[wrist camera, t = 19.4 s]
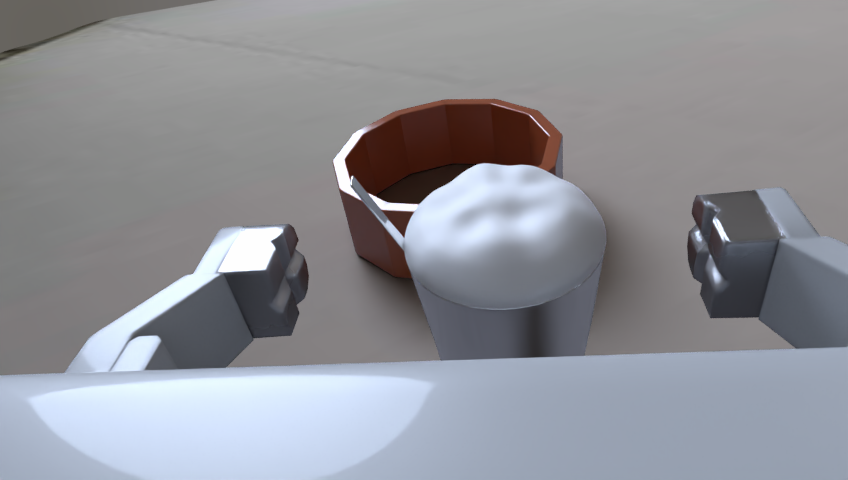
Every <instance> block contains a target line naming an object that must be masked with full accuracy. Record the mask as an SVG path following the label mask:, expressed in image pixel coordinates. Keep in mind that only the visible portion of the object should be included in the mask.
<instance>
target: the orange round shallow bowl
mask: <svg viewBox="0 0 848 480" xmlns="http://www.w3.org/2000/svg"><path fill="white" fill-rule="evenodd" d="M452 163H460V164H483V163H490V164H498V165H507V166H512V165H531V166H535V167H538V168H541V169H543V170H545V171H547V172H549V173H551V174H553V175H555V176H556V177H558V178H560V179H563V136H562V134H561V133H560V132H559V131H558V130H557V129H556V128H555V127H554V126H553V125H552V124H551V123H550V122H549V121H548V120H547V119H546V118H545V117H544V116H543V115H542V114H541V113H540V112H539V111H538V110H534V109H530V108H527V107H523V106H519V105H516V104H512V103H509V102H505V101H501V100H498V99H446V100H440V101H436V102H432V103H428V104H423V105H419V106H415V107H411V108H406V109H402V110H398V111H395V112H393V113H391V114H389V115H387V116H385V117H383V118H381V119H379V120H377V121H376V122H374V123H372V124H370V125H368V126H366V127H364V128H362V129H360V130H359V131H357V132H355V133H354V134H353V135H352V136H351V138H350V139H349V140H348V141H347V143H346V144H345V145H344V147H343V148H342V149H341V151H340V152H339V153H338V154H337V156H336V157H335V158H334V160H333V166H334V170H335V175H336V179H337V183H338V187H339V191H340V195H341V199H342V202H343V206H344V210H345V213H346V217H347V221H348V225H349V228H350V232H351V236H352V239H353V243H354V247H355V251H356V253H357V254H358V255H360V256H361V257H363V258H365V259H366V260H368V261H370V262H371V263H373V264H374V265H376V266H378V267H379V268H381V269H383V270H384V271H386V272H387V273H389V274H391V275H392V276H394V277H400V278H411V279H412V276H411V273H410V270H409V267H408V264H407V262H406V258H405V253H404V251H403V250H402V248H401V247H400V246H399V245H398V244H397V242H396V241H395V240H394V239H393V238H392V236H391V235H390V234H389V233H388V232H387V230H386V229H385V228H384V227H383V225H382V224H381V223H380V222H379V221H378V219H377V218H376V217H375V216H374V215H373V213H372V212H371V211H370V210H369V209H368V207H367V206H366V205H365V204H364V202H363V201H362V200H361V199H360V198H359V196H358V195H357V194H356V193H355V192H354V190H353V189H352V188H351V186H350V181H351V176H352V175H353V176H354V177H355V178H356V179H357V181H358V182H359V183H360V184H361V186H362V187H363V188H364V189H365V190H366V192H367V193H368V194H369V195H370V197H371V198H372V199H373V200H374V202H375V203H376V204H377V205H378V206H379V208H380V209H381V210H382V211H383V213H384V214H385V215H386V216H387V218H388V219H389V220H390V221H391V222H392V224H393V225H394V226H395V227H396V229H397V230H398V231H399V232H400V234H401V235H402V236H403V237H405V232H406V228H407V226H408V223H409V221H410V218H411V217H412V215H413V213H414V212H415V210H416V209H417V207H418V206H419V204H407V203H388V202H386V201H384V200H382V199H380V198H378V197H376V195H377V194H378V193H380V192H381V191H383V190H385V189H386V188H388V187H389V186H391V185H393V184H394V183H396V182H398V181H399V180H401V179H403V178H404V177H406V176H408V175H409V174H412V173H416V172H420V171H424V170H428V169H432V168H436V167H440V166H444V165H448V164H452Z"/></svg>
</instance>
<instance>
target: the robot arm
mask: <svg viewBox="0 0 848 480" xmlns="http://www.w3.org/2000/svg"><path fill="white" fill-rule="evenodd" d="M692 215H693V217H694V220H695V222H696V225H695V226H694V227H693V228H692V229H691V230H690V231H689V235H688V244H687V250H688V262H689V266H690V270H691V272H692V275H693V278H694V279H696V280H697V281H699V282H701V283H702V286H701V292H700V295H701V297H702V299H703V302H704V304H705V306H706V309H707V311H708V314H709V316H710V318H748V317H759V320H760V321H761V322H763V323H764V324H765V325H767V326H768V327H769V328H770V329H772V330H773V331H774V332H776V333H777V334H778V335H779V336H781V337H782V338H783V339H785V340H786V341H787V342H788V343H790V344H791V345H792V346H794V347H795V348H796V349H773V350H742V351H713V352H683V353H653V354H624V355H594V356H564V357H535V358H505V359H475V360H444V361H414V362H384V363H354V364H324V365H294V366H264V367H234V368H226V367H227V366H228V365H229V364H230V363H231V362H232V361H233V360H234V359H235V358H236V357H237V356H238V355H239V354H240V353H241V352H242V351H243V350H244V349H245V348H246V347H247V346H248V345H249V344H250V343H251V342H252V341H253V338H263V337H278V336H291V335H292V333H293V330H294V327H295V324H296V321H297V319H298V316H299V310H298V307H297V304H298V303H299V302H301V301H302V300H303V299H304V298H305V296H306V293H307V290H308V278H309V275H308V269H307V264H306V261H305V258H304V256H303V255H302V254H301V253H299V252H298V251H297V250H296V249H295V247H296V245H297V242H298V237H297V235H296V232H295V229H294V227H292V226H291V225H290V224H279V225H259V226H246V227H244V226H240V227H227V228H223V229H221V230H219V232H218V234H217V235H216V237H215V239H214V240H213V242H212V244H211V245H210V247H209V249H208V250H207V252H206V253H205V255H204V257H203V258H202V260H201V262H200V263H199V265H198V267H197V268H196V270H195V272H194V273H193V275H185V276H184V277H182V278H181V279H179V280H178V281H176V282H175V283H173V284H171V285H170V286H168V287H167V288H165V289H164V290H162V291H161V292H159V293H157V294H156V295H154V296H153V297H151V298H150V299H148V300H147V301H145V302H143V303H142V304H140V305H139V306H137V307H136V308H134V309H133V310H131V311H129V312H128V313H126V314H125V315H123V316H122V317H120V318H119V319H117V320H116V321H114V322H112V323H111V324H109V325H108V326H106V327H105V328H103V329H102V330H100V331H98V332H97V333H95V334H94V335H92V336H91V337H90V338H89V339H88V340H87V342H86V343H85V345H84V346H83V347H82V349H81V350H80V352H79V353H78V354H77V356H76V357H75V359H74V360H73V361H72V363H71V364H70V366H69V367H68V368H67V370H66V371H65V373H55V374H25V375H0V480H848V245H847V244H845V243H843V242H841V241H838V240H836V239H834V238H832V237H821V236H820V235H819V234H818V232H817V231H816V230H815V228H814V227H813V226H812V224H811V223H810V222H809V220H808V219H807V218H806V216H805V215H804V214H803V212H802V211H801V210H800V208H799V207H798V205H797V204H796V203H795V201H794V200H793V199H792V197H791V196H790V195H789V193H788V192H787V191H786V189H783V188H781V187H777V188H768V189H758V190H752V191H742V192H730V193H719V194H707V195H696V197H695V200H694V202H693V208H692Z"/></svg>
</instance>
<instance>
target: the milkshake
mask: <svg viewBox="0 0 848 480" xmlns="http://www.w3.org/2000/svg"><path fill="white" fill-rule="evenodd" d="M350 186H351V188H352V189H353V190H354V192H355V193H356V194H357V195H358V196H359V198H360V199H361V200H362V201H363V202H364V204H365V205H366V206H367V207H368V209H369V210H370V211H371V212H372V213H373V215H374V216H375V217H376V218H377V219H378V221H379V222H380V223H381V224H382V225H383V227H384V228H385V229H386V230H387V232H388V233H389V234H390V235H391V236H392V238H393V239H394V240H395V241H396V242H397V244H398V245H399V246H400V247H401V248H402V250H403V251H404V253H405V258H406V262H407V264H408V267H409V270H410V273H411V276H412V279H413V282H414V285H415V288H416V290H417V293H418V296H419V299H420V302H421V305H422V308H423V311H424V313H425V316H426V319H427V322H428V325H429V328H430V330H431V333H432V336H433V338H434V341H435V344H436V347H437V350H438V354H439V357H440V360H441V361H444V360H475V359H505V358H535V357H564V356H585V351H586V346H587V341H588V336H589V332H590V327H591V323H592V317H593V312H594V307H595V301H596V296H597V290H598V285H599V279H600V274H601V268H602V263H603V257H604V251H605V246H606V239H607V237H606V228H605V225H604V222H603V219H602V217H601V215H600V214H599V212H598V210H597V208H596V207H595V206H594V204H593V203H592V202H591V200H590V199H589V198H588V197H587V196H586V195H585V193H584V192H582V191H581V190H580V189H579V188H578V187H576V186H575V185H573V184H572V183H570V182H567V181H565V180H563V179H560V178H558V177H556V176H555V175H553V174H551V173H549V172H547V171H545V170H543V169H541V168H538V167H535V166H531V165H512V166H507V165H498V164H490V163H483V164H478V165H475V166H473V167H471V168H469V169H467V170H466V171H464V172H463V173H461V174H460V175H459V176H457V177H456V178H455V179H454V180H452V181H451V182H450V183H448V184H446V185H444V186H442V187H440V188H438V189H436V190H435V191H433V192H432V193H431V194H429V195H428V196H427V197H426V198H425V199H424V200H423V201H422V202H421V203H420V204H419V206H418V207H417V209H416V210H415V212H414V213H413V215H412V217H411V218H410V221H409V223H408V226H407V228H406V232H405V237H403V236H402V235H401V234H400V232H399V231H398V230H397V229H396V227H395V226H394V225H393V224H392V222H391V221H390V220H389V219H388V218H387V216H386V215H385V214H384V213H383V211H382V210H381V209H380V208H379V206H378V205H377V204H376V203H375V202H374V200H373V199H372V198H371V197H370V195H369V194H368V193H367V192H366V190H365V189H364V188H363V187H362V186H361V184H360V183H359V182H358V181H357V179H356V178H355V177H354V176H353V175H352V176H351V181H350Z"/></svg>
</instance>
